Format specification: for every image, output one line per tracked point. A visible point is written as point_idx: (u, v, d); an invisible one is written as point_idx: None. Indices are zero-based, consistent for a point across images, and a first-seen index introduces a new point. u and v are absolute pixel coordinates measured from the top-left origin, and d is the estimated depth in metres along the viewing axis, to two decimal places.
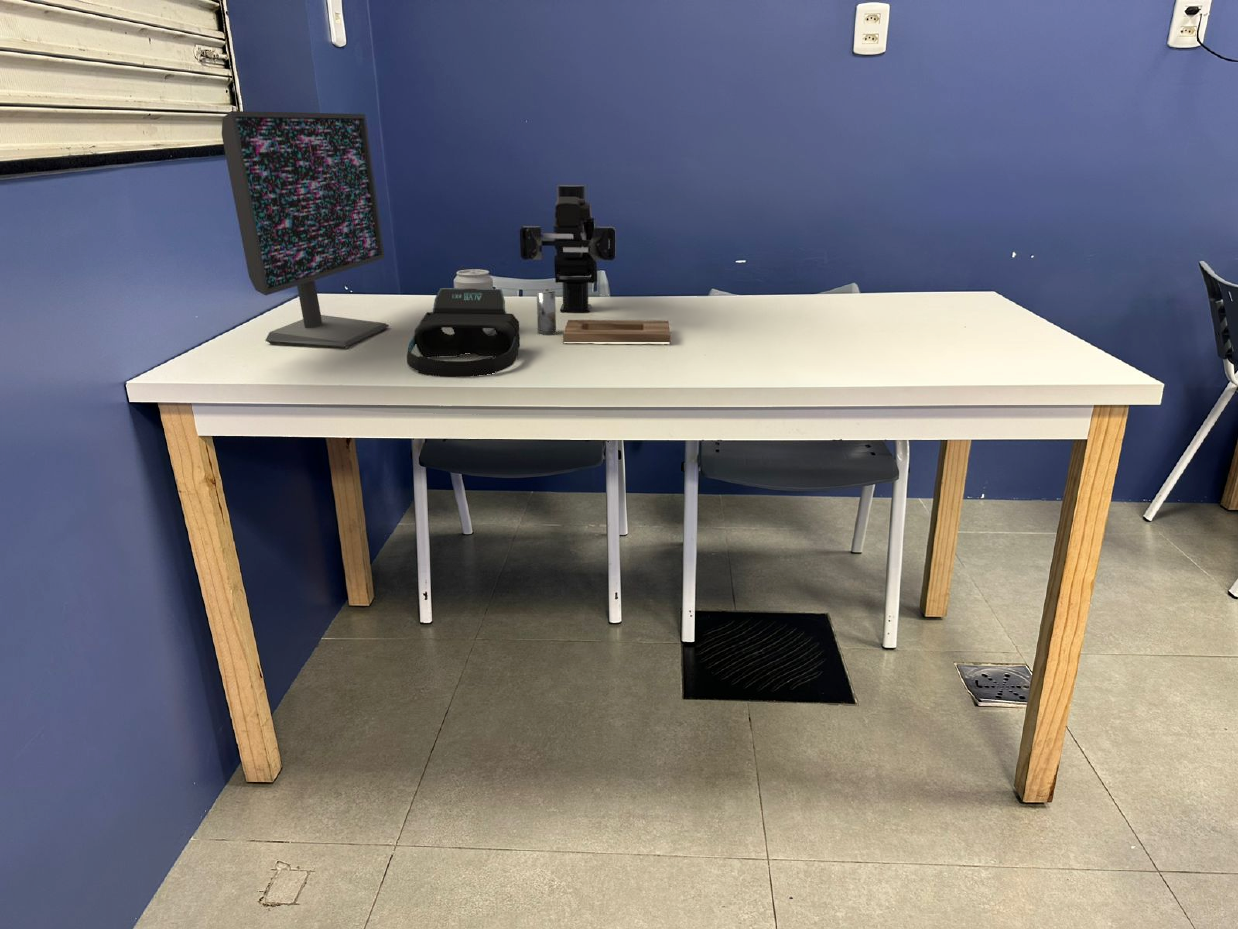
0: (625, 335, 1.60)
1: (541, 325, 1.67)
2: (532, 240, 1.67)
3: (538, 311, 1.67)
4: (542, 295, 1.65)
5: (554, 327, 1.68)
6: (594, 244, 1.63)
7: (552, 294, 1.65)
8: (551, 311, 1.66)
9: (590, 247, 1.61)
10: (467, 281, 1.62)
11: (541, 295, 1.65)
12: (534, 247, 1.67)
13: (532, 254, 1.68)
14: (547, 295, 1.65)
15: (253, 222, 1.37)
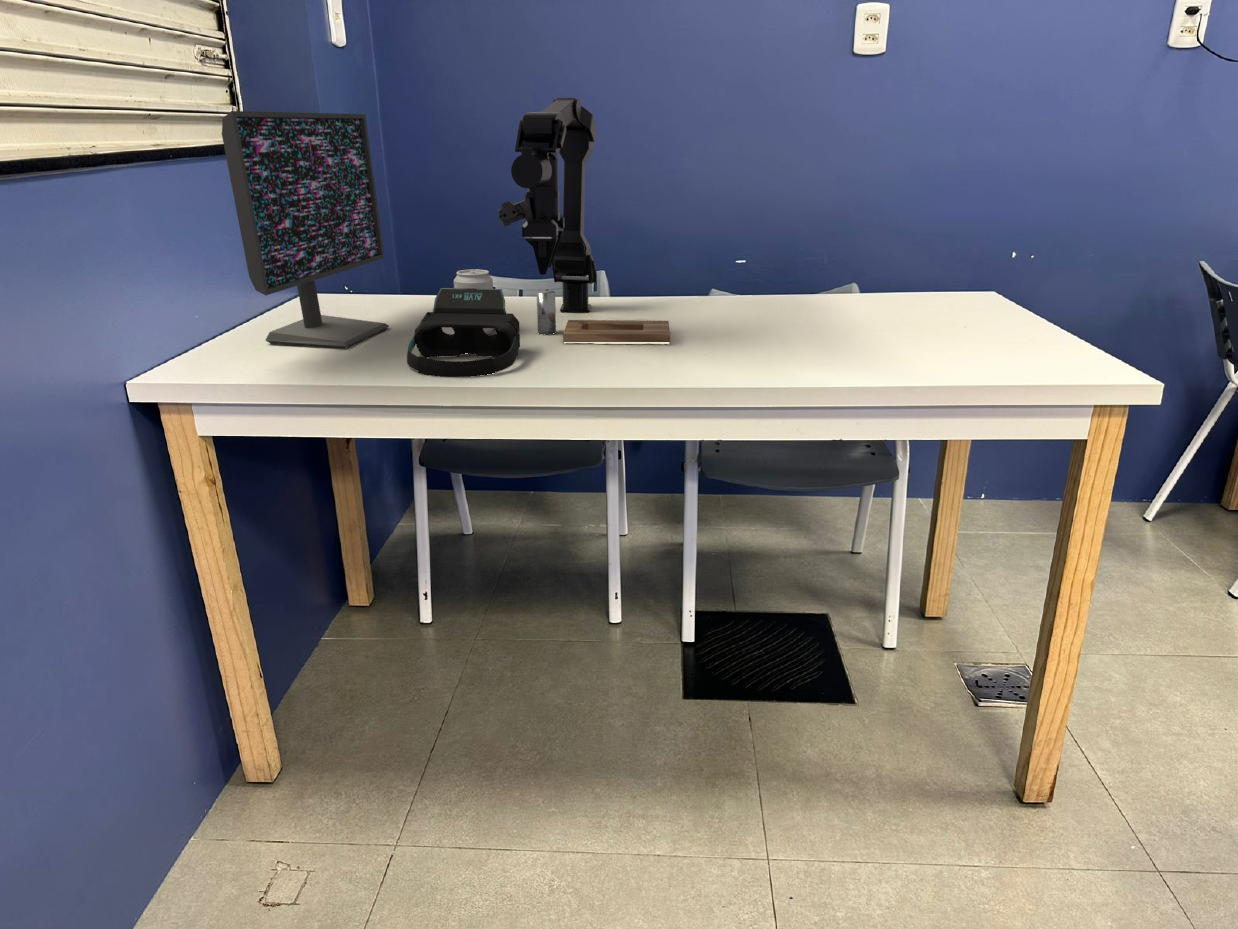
0: (625, 335, 1.60)
1: (541, 325, 1.67)
2: None
3: (538, 311, 1.67)
4: (542, 295, 1.65)
5: (554, 327, 1.68)
6: (539, 261, 1.59)
7: (552, 294, 1.65)
8: (551, 311, 1.66)
9: (541, 272, 1.60)
10: (467, 281, 1.62)
11: (541, 295, 1.65)
12: None
13: None
14: (547, 295, 1.65)
15: (253, 222, 1.37)
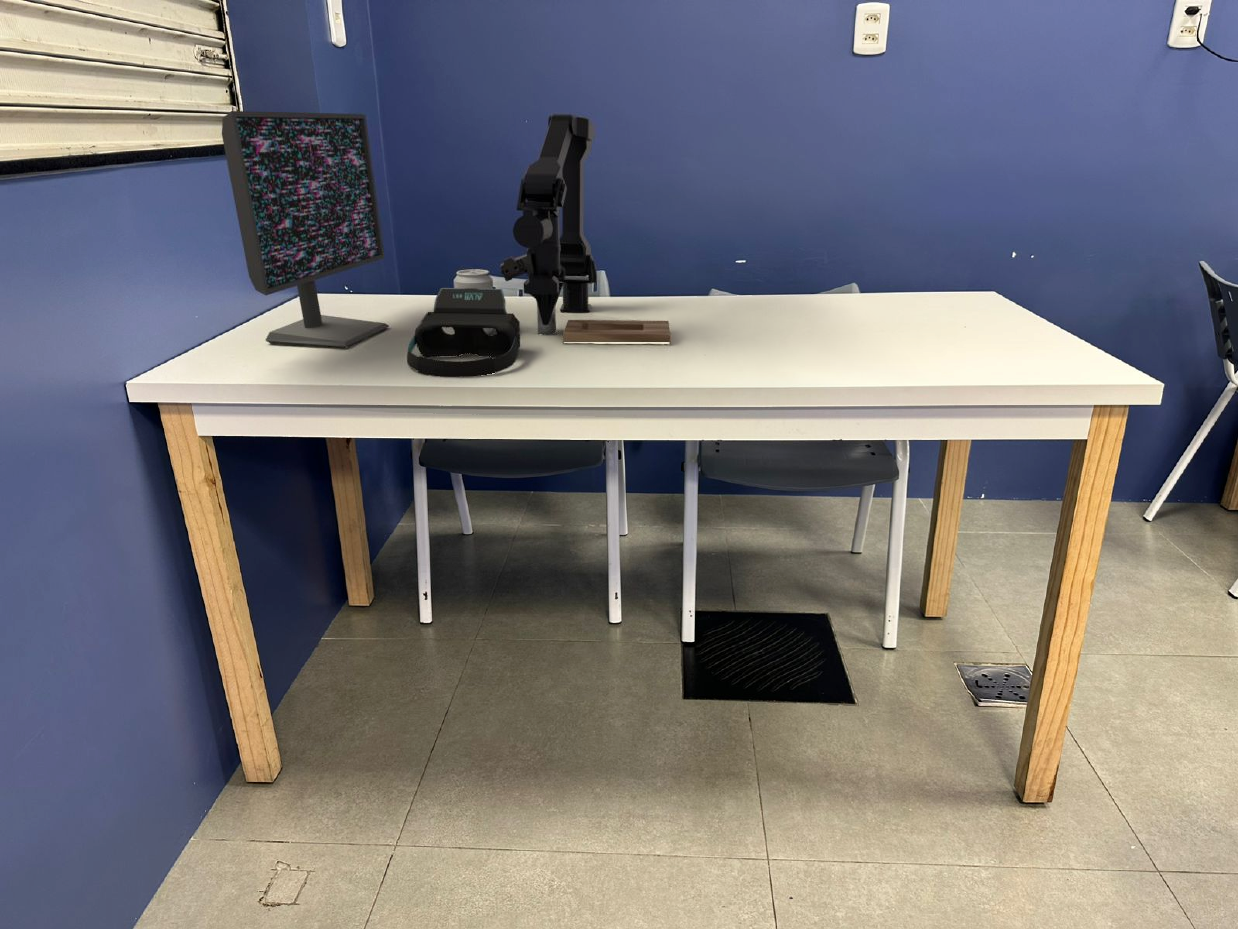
0: (625, 335, 1.60)
1: (541, 325, 1.67)
2: None
3: (538, 311, 1.67)
4: None
5: (554, 327, 1.68)
6: (542, 313, 1.65)
7: None
8: None
9: (544, 323, 1.66)
10: (467, 281, 1.62)
11: None
12: None
13: None
14: None
15: (253, 222, 1.37)
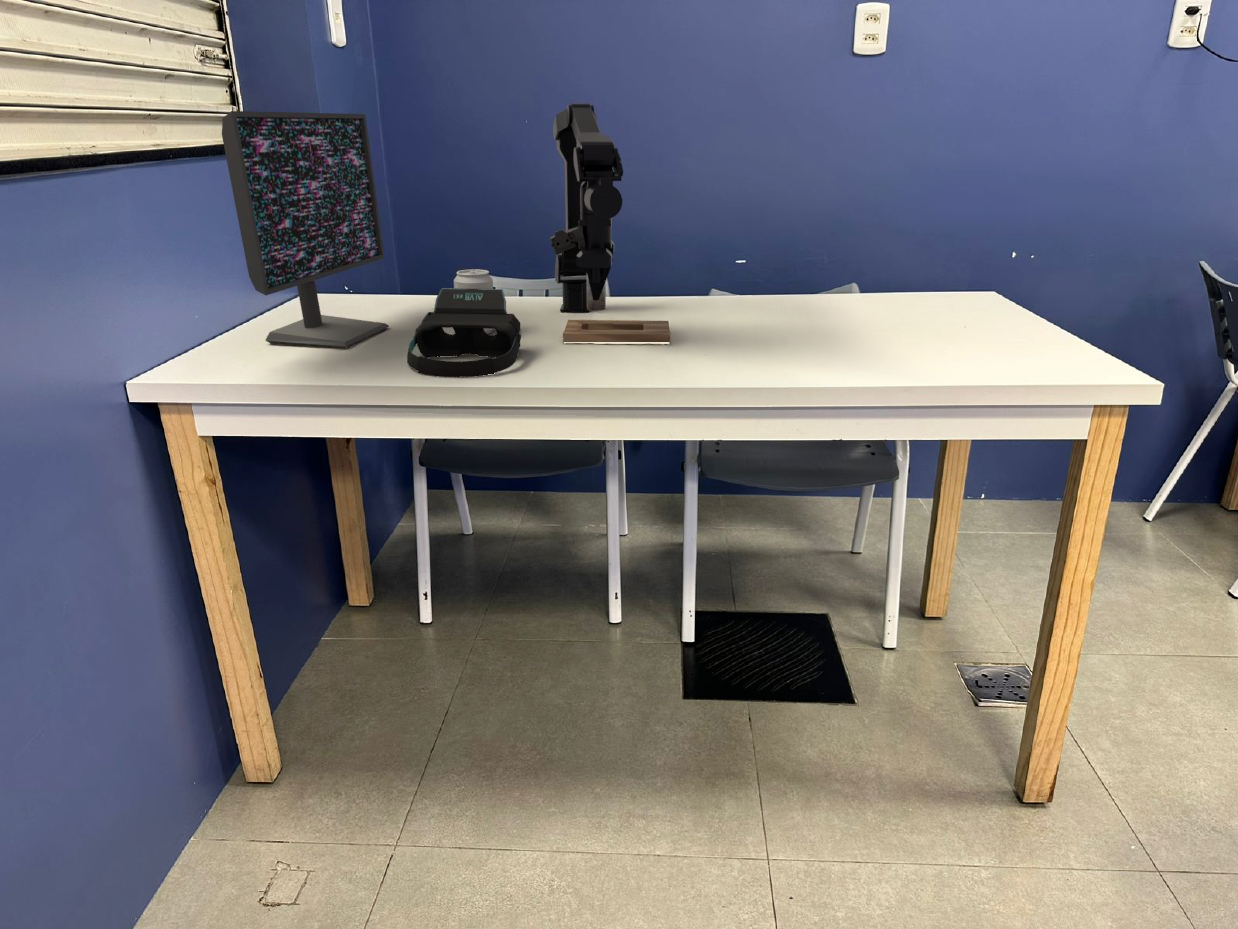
0: (625, 335, 1.60)
1: (591, 300, 1.62)
2: None
3: (588, 286, 1.62)
4: None
5: (604, 302, 1.63)
6: (592, 288, 1.60)
7: None
8: None
9: (594, 298, 1.61)
10: (467, 281, 1.62)
11: None
12: None
13: None
14: None
15: (253, 222, 1.37)
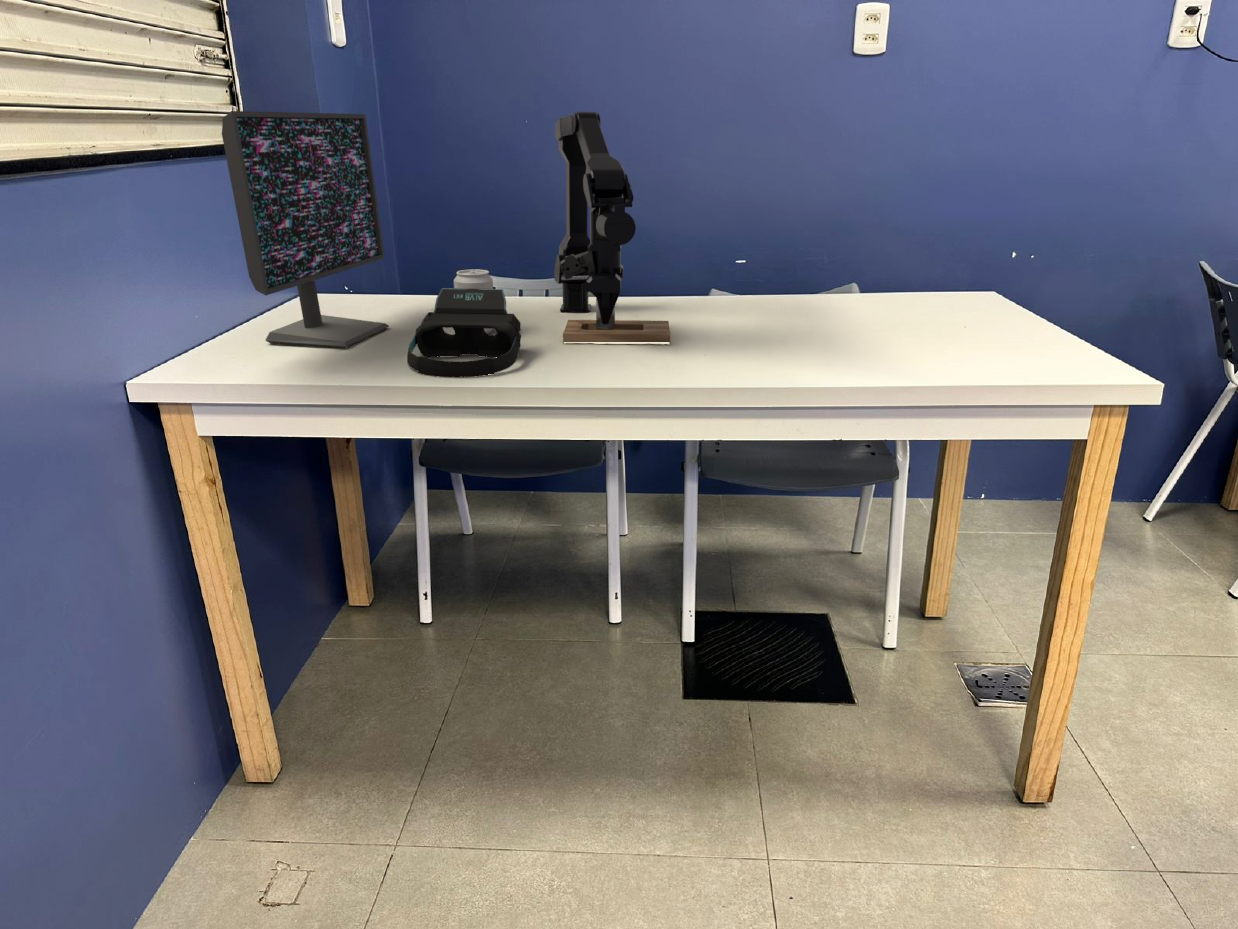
0: (625, 335, 1.60)
1: (600, 324, 1.64)
2: None
3: (597, 310, 1.63)
4: None
5: (613, 326, 1.65)
6: (602, 312, 1.61)
7: None
8: None
9: (604, 322, 1.63)
10: (467, 281, 1.62)
11: None
12: None
13: None
14: None
15: (253, 222, 1.37)
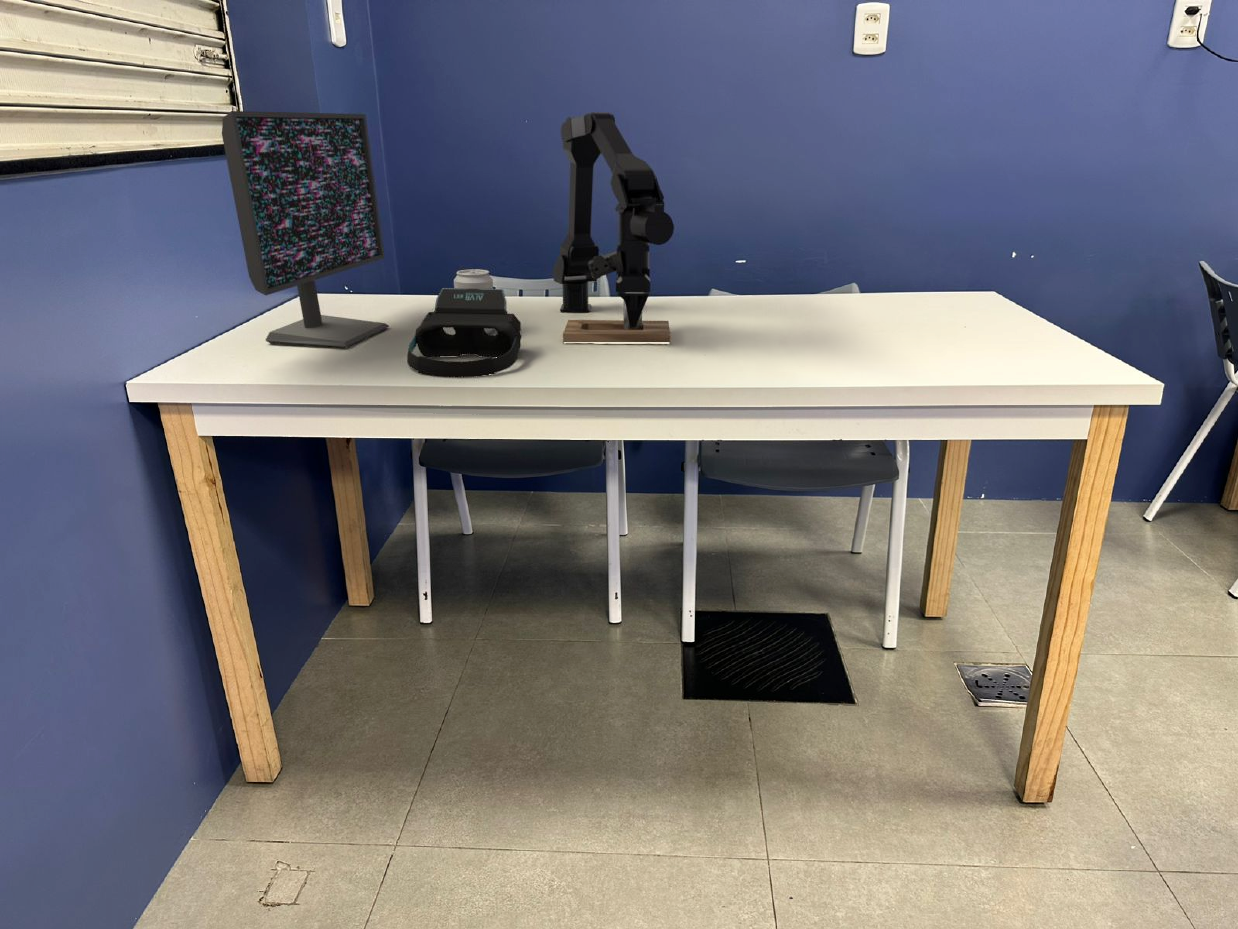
0: (625, 335, 1.60)
1: (628, 329, 1.64)
2: None
3: (625, 315, 1.63)
4: None
5: None
6: (630, 315, 1.59)
7: None
8: None
9: (631, 325, 1.60)
10: (467, 281, 1.62)
11: None
12: None
13: None
14: None
15: (253, 222, 1.37)
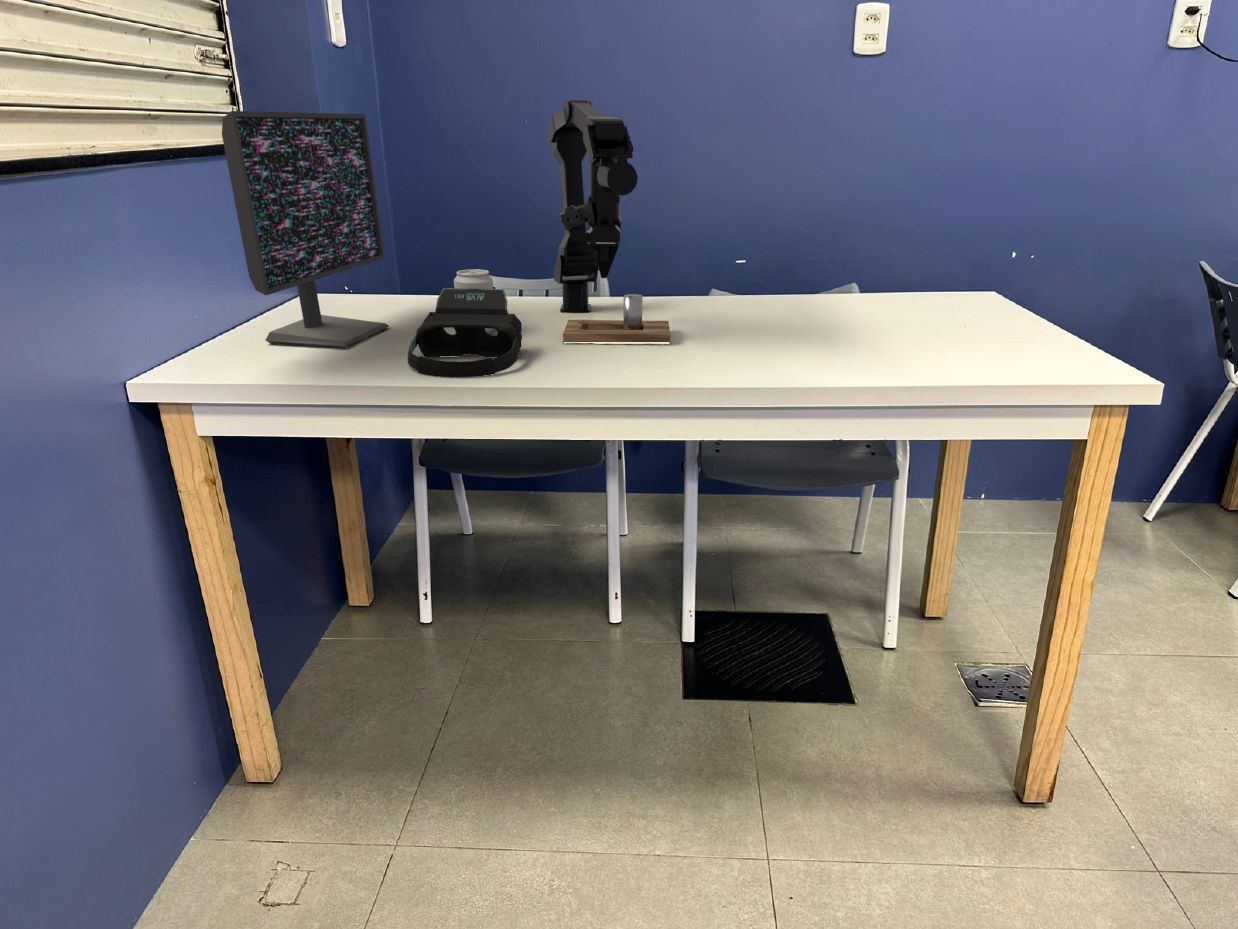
0: (625, 335, 1.60)
1: (628, 329, 1.64)
2: None
3: (625, 315, 1.63)
4: (630, 299, 1.62)
5: None
6: (600, 265, 1.62)
7: (640, 298, 1.62)
8: (638, 315, 1.63)
9: (602, 276, 1.63)
10: (467, 281, 1.62)
11: (629, 299, 1.62)
12: None
13: None
14: (635, 299, 1.62)
15: (253, 222, 1.37)
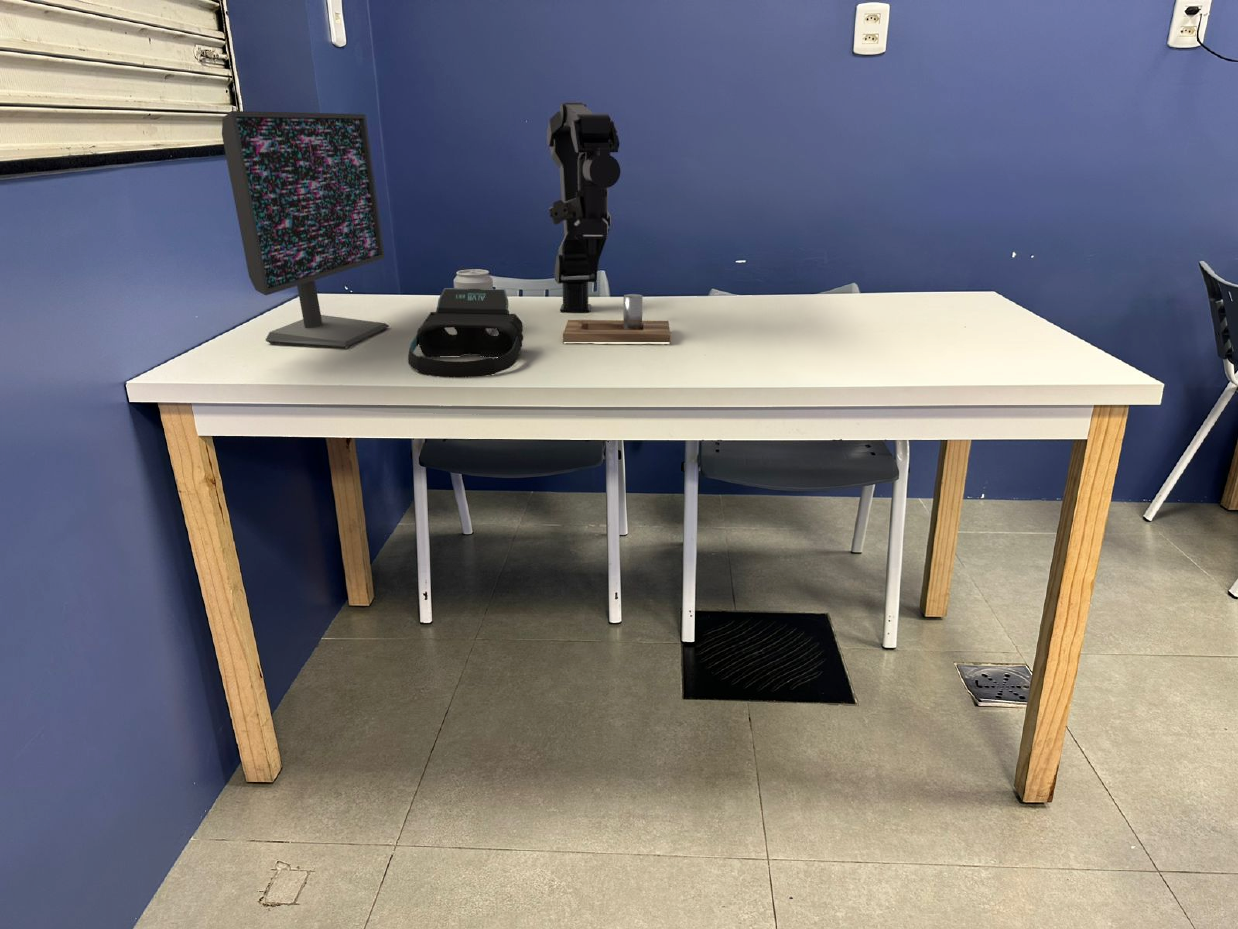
0: (625, 335, 1.60)
1: (628, 329, 1.64)
2: None
3: (625, 315, 1.63)
4: (630, 299, 1.62)
5: None
6: (589, 259, 1.63)
7: (640, 298, 1.62)
8: (638, 315, 1.63)
9: (590, 269, 1.65)
10: (467, 281, 1.62)
11: (629, 299, 1.62)
12: None
13: None
14: (635, 299, 1.62)
15: (253, 222, 1.37)
